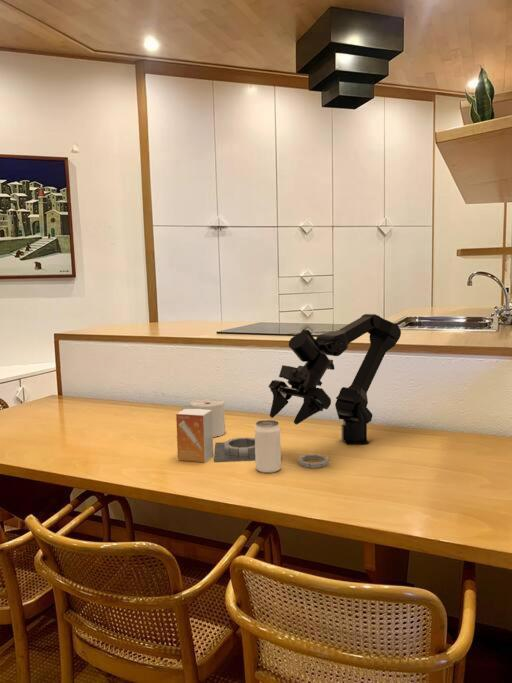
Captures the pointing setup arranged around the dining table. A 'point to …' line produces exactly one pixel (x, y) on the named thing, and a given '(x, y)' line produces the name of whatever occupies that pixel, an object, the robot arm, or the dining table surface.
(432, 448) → the dining table surface
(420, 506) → the dining table surface
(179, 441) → the small box
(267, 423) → the can
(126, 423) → the dining table surface
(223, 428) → the toilet tissue
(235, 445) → the ring seat
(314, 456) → the ring
